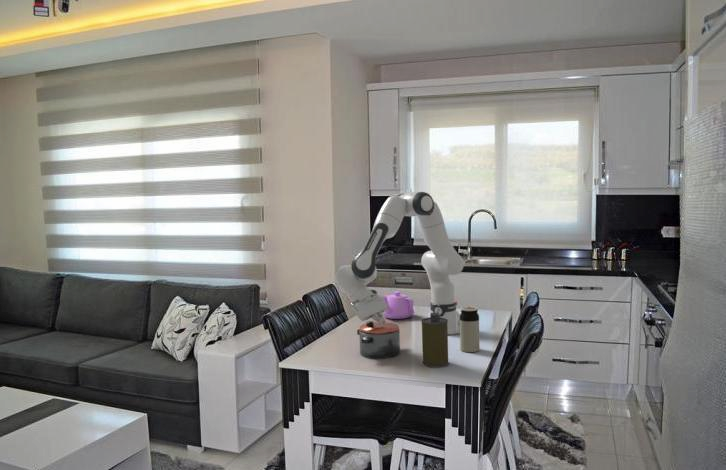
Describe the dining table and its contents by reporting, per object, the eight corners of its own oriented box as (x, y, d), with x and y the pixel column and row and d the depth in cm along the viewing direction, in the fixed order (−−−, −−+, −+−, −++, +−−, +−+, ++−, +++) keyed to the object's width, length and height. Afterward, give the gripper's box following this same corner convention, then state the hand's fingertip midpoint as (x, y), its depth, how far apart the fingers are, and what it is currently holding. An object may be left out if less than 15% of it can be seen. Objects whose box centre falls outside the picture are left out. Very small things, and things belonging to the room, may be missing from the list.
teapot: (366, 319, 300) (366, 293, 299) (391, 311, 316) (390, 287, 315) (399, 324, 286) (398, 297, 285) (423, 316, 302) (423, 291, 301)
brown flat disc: (371, 323, 246) (371, 317, 246) (405, 327, 238) (405, 320, 238) (352, 332, 232) (352, 325, 232) (387, 336, 224) (387, 329, 223)
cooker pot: (374, 343, 251) (374, 321, 250) (410, 347, 242) (410, 324, 241) (345, 358, 230) (344, 334, 229) (383, 363, 221) (383, 338, 220)
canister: (448, 368, 212) (447, 316, 211) (421, 367, 214) (419, 316, 213) (449, 359, 223) (448, 310, 221) (423, 359, 225) (422, 310, 223)
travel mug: (476, 353, 230) (475, 310, 229) (457, 351, 234) (457, 309, 232) (481, 348, 237) (481, 306, 236) (463, 346, 241) (463, 305, 239)
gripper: (354, 297, 228) (375, 323, 223) (377, 289, 245) (398, 313, 241) (345, 307, 230) (366, 333, 226) (369, 298, 248) (389, 322, 244)
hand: (383, 322), depth 234 cm, fingers closed
